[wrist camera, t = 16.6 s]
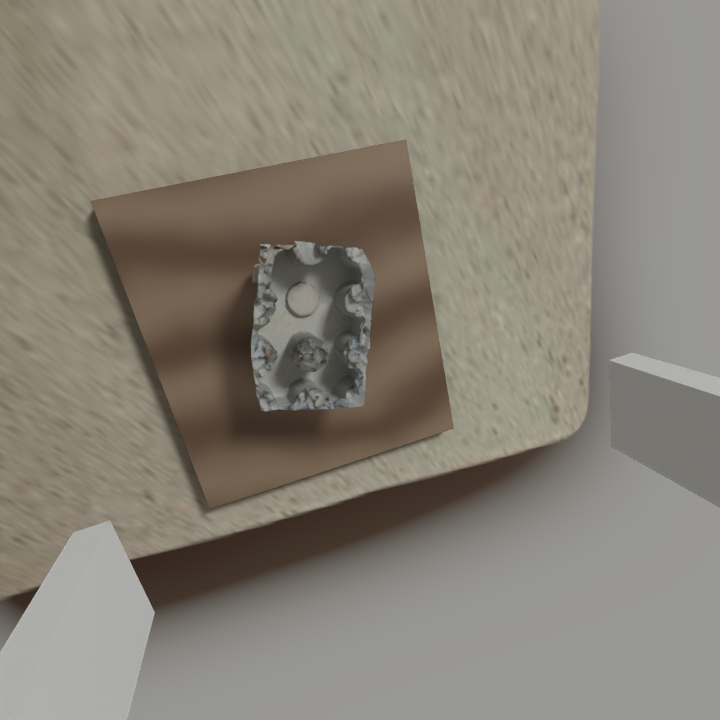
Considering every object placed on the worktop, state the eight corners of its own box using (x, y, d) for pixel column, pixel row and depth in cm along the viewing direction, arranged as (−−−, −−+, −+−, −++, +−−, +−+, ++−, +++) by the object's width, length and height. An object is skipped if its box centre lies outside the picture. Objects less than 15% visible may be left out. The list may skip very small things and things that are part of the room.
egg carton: (250, 238, 27) (256, 234, 23) (361, 249, 29) (383, 247, 26) (246, 399, 29) (251, 419, 25) (350, 397, 31) (369, 415, 28)
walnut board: (97, 203, 26) (90, 201, 25) (400, 143, 29) (405, 139, 28) (211, 500, 33) (210, 509, 31) (447, 422, 36) (453, 428, 35)
